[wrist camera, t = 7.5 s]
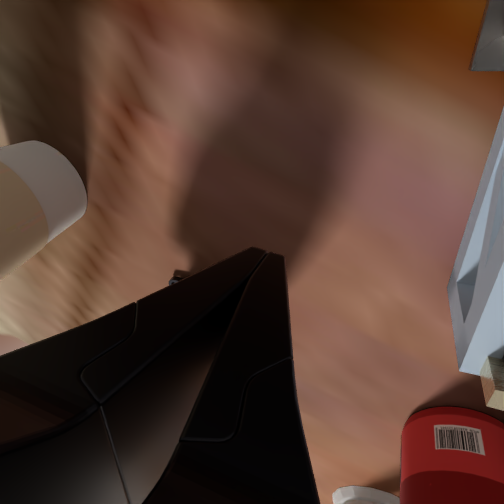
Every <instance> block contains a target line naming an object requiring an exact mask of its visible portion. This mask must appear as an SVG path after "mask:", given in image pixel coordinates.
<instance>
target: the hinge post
mask: <svg viewBox="0 0 504 504" xmlns="http://www.w3.org/2000/svg"><path fill="white" fill-rule="evenodd" d="M469 70H470V71H504V0H487V3H486V7H485V10H484V14H483V18H482V21H481V25H480V29H479V32H478V36H477V40H476V43H475V47H474V51H473V54H472V58H471V62H470V65H469Z"/></svg>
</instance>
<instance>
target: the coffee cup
mask: <svg viewBox="0 0 504 504" xmlns="http://www.w3.org/2000/svg"><path fill="white" fill-rule="evenodd" d="M86 208H87V194H86V190H85V187H84V184H83V182H82V180H81V178H80V176H79V174H78V172H77V171H76V169H75V168H74V167H73V165H72V164H71V163H70V162H69V160H68V159H67V158H66V157H65V156H64V155H62V154H61V153H60V152H59V151H58V150H56V149H55V148H53V147H51V146H50V145H48V144H46V143H43V142H40V141H26V142H21V143H17V144H13V145H8V146H4V147H0V281H2V280H3V279H4V278H5V277H7V276H8V275H9V274H11V273H12V272H13V271H14V270H16V269H17V268H18V267H20V266H21V265H22V264H23V263H25V262H26V261H27V260H28V259H30V258H31V257H32V256H34V255H35V254H36V253H37V252H39V251H40V250H41V249H43V248H44V247H45V245H46V244H47V243H48V242H49V241H51V240H52V239H53V238H55V237H56V236H57V235H59V234H60V233H61V232H63V231H64V230H65V229H66V228H68V227H69V226H70V225H72V224H73V223H74V222H76V221H77V220H78V219H80V218H81V217H82V216H83V215H84V213H85V211H86Z"/></svg>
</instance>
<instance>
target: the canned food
mask: <svg viewBox="0 0 504 504" xmlns="http://www.w3.org/2000/svg"><path fill="white" fill-rule="evenodd" d="M400 504H504V424H503V423H502V422H500V421H499V420H497V419H495V418H493V417H491V416H489V415H487V414H484V413H481V412H478V411H475V410H471V409H466V408H460V407H434V408H429V409H425V410H422V411H419V412H417V413H415V414H413V415H412V416H411V417H410V418H409V419H408V420H407V422H406V423H405V426H404V428H403V431H402V435H401V464H400Z"/></svg>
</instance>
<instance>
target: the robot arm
mask: <svg viewBox="0 0 504 504" xmlns="http://www.w3.org/2000/svg"><path fill="white" fill-rule="evenodd" d="M0 504H320V500H319V496H318V492H317V487H316V483H315V478H314V474H313V470H312V465H311V461H310V457H309V452H308V448H307V443H306V439H305V435H304V430H303V426H302V420H301V415H300V410H299V404H298V398H297V390H296V382H295V372H294V361H293V349H292V336H291V323H290V310H289V297H288V284H287V271H286V259H285V256H283V255H280V254H277V253H273V252H269V253H268V252H267V251H266V250H263V249H260V248H256V247H250V248H248V249H246V250H244V251H242V252H240V253H237V254H235V255H233V256H231V257H229V258H227V259H225V260H223V261H220V262H218V263H216V264H214V265H212V266H210V267H208V268H205V269H203V270H201V271H199V272H197V273H195V274H193V275H191V276H188V277H186V278H184V279H183V278H178V277H172V278H171V279H170V281H169V286H167V287H165V288H163V289H161V290H159V291H157V292H154V293H152V294H150V295H148V296H146V297H144V298H142V299H140V300H138V301H137V302H136V303H135V302H133V303H131V304H129V305H127V306H124V307H122V308H120V309H118V310H116V311H114V312H111V313H109V314H107V315H104V316H102V317H100V318H98V319H95V320H93V321H91V322H88V323H85V324H83V325H80V326H78V327H75V328H73V329H70V330H68V331H65V332H63V333H60V334H57V335H55V336H52V337H49V338H46V339H44V340H41V341H38V342H36V343H33V344H30V345H28V346H25V347H22V348H20V349H17V350H14V351H12V352H9V353H6V354H4V355H1V356H0Z"/></svg>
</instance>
